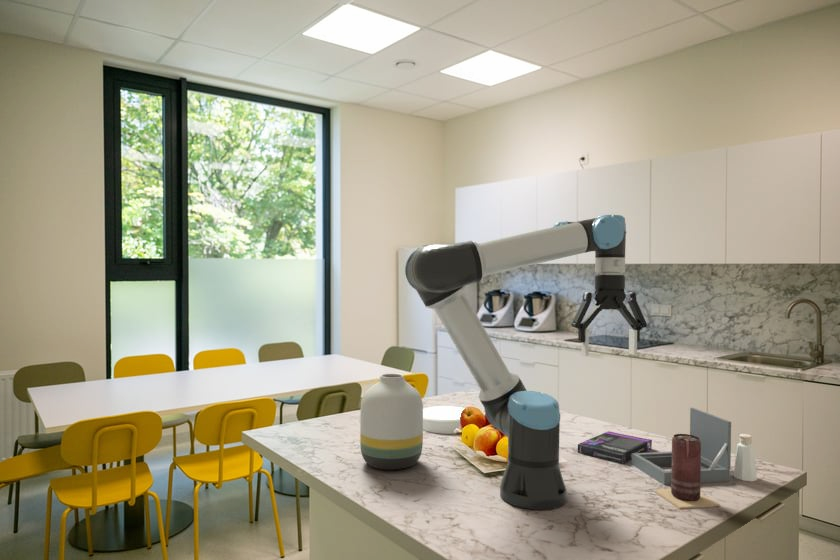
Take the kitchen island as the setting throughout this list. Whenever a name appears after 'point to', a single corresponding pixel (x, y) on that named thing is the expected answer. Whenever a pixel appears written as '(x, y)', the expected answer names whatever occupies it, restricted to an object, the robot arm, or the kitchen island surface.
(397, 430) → the vase
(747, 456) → the salt shaker
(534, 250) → the robot arm
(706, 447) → the case
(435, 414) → the container
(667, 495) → the mat
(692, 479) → the can
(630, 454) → the box
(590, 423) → the kitchen island surface
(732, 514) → the kitchen island surface
